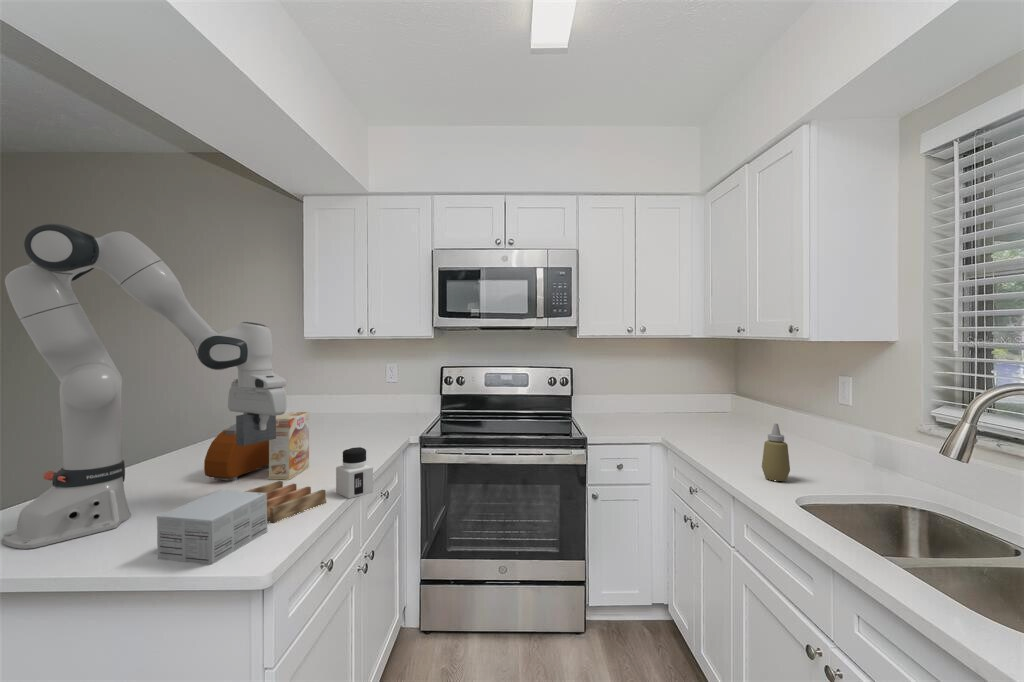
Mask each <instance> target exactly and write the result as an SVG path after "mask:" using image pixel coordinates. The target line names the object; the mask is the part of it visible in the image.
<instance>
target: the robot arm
mask: <svg viewBox="0 0 1024 682" xmlns="http://www.w3.org/2000/svg"><path fill="white" fill-rule="evenodd" d="M23 247H24V251H25V254H26V255H27V256H28V258H29V259H30V260H31V262H29V263H28V264H26V265H22V266H19V267H17V268H15V269H13V270H11V271H10V272H9V273H7V275H6V276H5V279H4V284H5V287H6V292H7V295H8V298H9V301H10V303H11V305H12V307H13V309H14V311H15V313H16V316H17V317H18V318H19V320H20V322H21V325H22V326H23V327H24V329H25V330H26V332H27V334H28V336H29V338H30V340H31V341H32V342H33V344H34V347H35V348H36V349H37V351H38V353H39V354H40V355H41V356H42V358H43V359H44V360H45V361H46V363H47V364H48V366H49V367H50V369H51V371H53V373H54V375H55V376H56V377H57V379H58V381H59V382H60V384H59V389H58V390H59V407H60V420H61V421H60V422H61V430H62V433H61V434H62V468H60V469H59V470H57V471H56V472H55V471H53V470H47V471H45V472H44V473H43V475H42V478H43V479H44V480H46V481H52V486H51V487H50V488H48V489H47V490H46V491H44V492H42V493H41V494H40V495H39V496H38V497H36V498H35V499H34V500H32V501H31V502H29V503H28V504H27V505H25V506H24V507H23V508H22V509H21V510H20V513H19V514H18V515H19V516H18V519H17V524H16V527H15V529H14V530H10V531H8V532H6V533H4V534H3V537H2V543H3V544H4V545H5V546H8V547H10V548H13V549H24V550H25V549H28V550H29V549H35V548H40V547H44V546H47V545H52V544H55V543H60V542H64V541H68V540H72V539H76V538H81V537H84V536H89V535H93V534H96V533H97V534H98V533H100V532H105V531H109V530H113V529H116V528H117V527H119V526H120V525H121V524H122V523H123V522H125V521H126V520H128V519H129V518H130V517H131V515H132V513H131V511H130V509H129V506H128V505H129V504H128V502H127V498H126V492H125V484H124V482H125V477H126V467H125V460H123V416H122V415H123V414H122V413H123V412H122V411H123V410H122V408H123V407H122V406H123V405H122V388H123V387H122V386H123V379H122V378H123V377H122V375H121V373H120V371H119V370H118V368H117V366H116V365H115V363H114V360H112V358H111V356H110V355H109V352H108V351H107V349H106V347H105V345H104V344H103V342H102V341H101V339H100V338H99V335H98V333H96V330H95V328H94V327H93V325H92V323H91V322H90V319H89V318H88V316H87V314H86V313H85V311H84V309H83V307H82V305H81V303H80V302H79V300H78V298H77V296H76V294H75V293H74V291H73V287H72V281H76V280H78V279H79V278H80V277H82V276H84V275H86V274H88V273H89V272H91V271H93V270H94V269H98V270H101V271H103V272H105V273H106V274H107V275H108V276H109V277H110V278H111V279H112V280H113V281H115V282H116V284H117V285H118V286H119V287H120V288H121V289H123V291H125V293H127V294H128V295H129V296H130V297H132V298H133V299H134V300H135V301H137V302H138V303H140V304H142V305H143V306H144V307H146V308H148V309H150V310H152V311H154V312H156V313H157V314H159V315H161V316H162V317H164V318H166V319H167V320H168V321H169V322H170V323H172V325H174V327H176V328H177V329H178V330H179V332H180V333H182V334H183V336H185V337H186V338H187V340H188V341H189V342H190V343H191V344H192V345H193V347H194V351H195V353H196V356H197V358H198V360H199V362H200V363H201V364H202V365H203V366H204V367H206V368H208V369H211V370H215V371H223V370H227V369H229V368H234V367H236V368H237V378H236V379H234V380H233V381H232V382H231V384H230V388H229V390H228V398H227V399H228V400H227V408H228V411H230V412H234V413H243V414H249V413H252V414H259V418H261V419H260V422H259V424H257V429H258V430H265V429H266V423H267V421H268V419H269V415H272V416H276V417H277V416H280V415H283V414H286V411H287V392H286V389H285V388H284V387H286V385H287V380H286V379H285V377H282V376H280V375H278V374H277V373H275V372H274V367H273V363H272V362H273V361H272V358H273V354H274V344H273V335H272V332H271V329H270V328H269V326H266V325H265V324H262V323H257V322H249V321H243V322H240V323H238V325H235V326H234V327H232V328H229V329H227V330H224V331H222V332H218V331H216V330H215V329H214V328H212V327H211V326H210V325H209V324H208V323H207V322H206V321H205V320H204V319H203V317H202V316H201V315H200V314H199V313H198V312H197V311H196V310H195V309H194V308H193V307H192V305H191V304H190V302H189V301H188V299H187V297H186V295H185V292H184V291H183V287H182V285H181V283H180V281H179V280H178V278H177V277H176V275H175V274H174V272H173V271H172V270H171V268H170V267H169V266H168V265H167V264H166V262H164V261H163V260H162V259H161V257H160V256H158V254H157V253H156V252H154V251H153V250H152V249H151V248H150V247H149V246H147V244H145V243H143V242H142V241H141V240H140V239H139V238H137V237H136V236H134V235H133V233H130V232H126V231H120V230H119V231H118V230H117V231H112V232H108V233H107V234H104V235H102V236H99V237H94V236H93V235H91V234H89V233H87V232H84V231H82V230H81V229H78V228H76V227H72V226H68V225H65V224H59V223H45V224H42V225H38V226H36V227H34V228H33V229H31V230H30V231H29V232H28V233H27V234H26V236H25V238H24V241H23ZM243 414H242V415H243Z"/></svg>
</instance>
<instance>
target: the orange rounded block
mask: <svg viewBox="0 0 1024 682" xmlns="http://www.w3.org/2000/svg"><path fill="white" fill-rule="evenodd" d="M203 461H204V464H203V466H204V467H203V470H204V475H205V476H207V477H209V478H213V479H214V480H216V479H221V480H220V481H230V480H234V481H233V482H236V481H237V480H238V477H239V476H243V475H244V474H247V473H250V472H253V471H255V470H258V469H262V468H263V467H265V468H266V469H267V468H268V469H269V440H268V441H263V442H259V443H254V444H250V445H246V446H241V445H237V443H236V423H235V424H233V425H231V426H230V427H227V428H225V429H223V430H222V431H221V432H220V433H219V434H217V436H215V438H214V439H213V440H212V441H211V444H210V445H209V447H208V448H207V451H206V455H205V457H204V460H203ZM235 480H236V481H235Z"/></svg>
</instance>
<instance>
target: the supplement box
mask: <svg viewBox="0 0 1024 682" xmlns="http://www.w3.org/2000/svg"><path fill="white" fill-rule="evenodd" d="M156 530H157V531H156V536H157V537H156V538H157V539H156V541H157V560H159V561H170V562H178V563H189V564H199V565H208V566H211V565H214V564H215V563H217V562H218V561H221V560H222V559H224V558H225V557H227V556H229V555H231V554H232V553H234V552H236V551H237V550H239V549H241V548H242V547H244V546H245V545H247V544H249V543H250V542H252V541H254V540H255V539H257V538H258V537H259V538H260V536H262V535H264V534H266V533H267V532H268V521H267V494H266V493H257V492H244V491H237V490H224V489H222V490H221V489H219V490H215V491H214V492H211V493H209V494H207V495H205V496H202V497H200V498H198V499H195V500H192V501H190V502H188V503H186V504H183V505H181V506H179V507H176V508H174V509H172V510H169V511H167V512H165V513H162V514H159V515H157V516H156Z"/></svg>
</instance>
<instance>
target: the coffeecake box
mask: <svg viewBox="0 0 1024 682" xmlns="http://www.w3.org/2000/svg"><path fill="white" fill-rule="evenodd" d="M308 467H309V468H310V412H309V411H289V412H287V413H286V412H285V413H284V414H282V415H276V439H272V440H269V468H268V480H277V479H290V480H291V479H292V478H294V476H295V477H296V476H298V475H299V474H300V473H302V472H304V471H305V469H306V468H307V469H309V468H308ZM307 469H306V470H307ZM297 474H298V475H297Z"/></svg>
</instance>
